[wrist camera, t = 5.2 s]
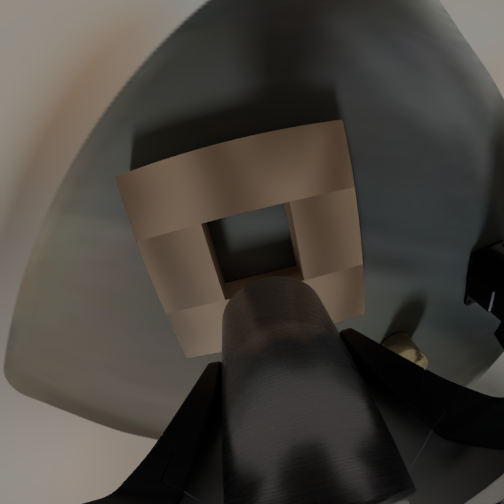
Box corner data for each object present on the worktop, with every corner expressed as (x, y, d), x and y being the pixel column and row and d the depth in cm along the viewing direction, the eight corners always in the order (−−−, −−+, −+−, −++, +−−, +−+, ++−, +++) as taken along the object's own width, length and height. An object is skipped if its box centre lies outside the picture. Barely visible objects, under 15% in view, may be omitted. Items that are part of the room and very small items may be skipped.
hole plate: (328, 122, 17) (342, 119, 15) (353, 297, 22) (364, 313, 20) (128, 172, 18) (115, 176, 15) (190, 338, 23) (187, 357, 20)
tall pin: (327, 345, 12) (397, 511, 4) (237, 367, 12) (252, 548, 4) (317, 264, 10) (440, 464, 3) (208, 291, 10) (193, 526, 3)
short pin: (411, 327, 25) (430, 350, 21) (407, 354, 26) (424, 377, 22) (377, 340, 25) (395, 366, 21) (376, 366, 26) (390, 392, 23)
